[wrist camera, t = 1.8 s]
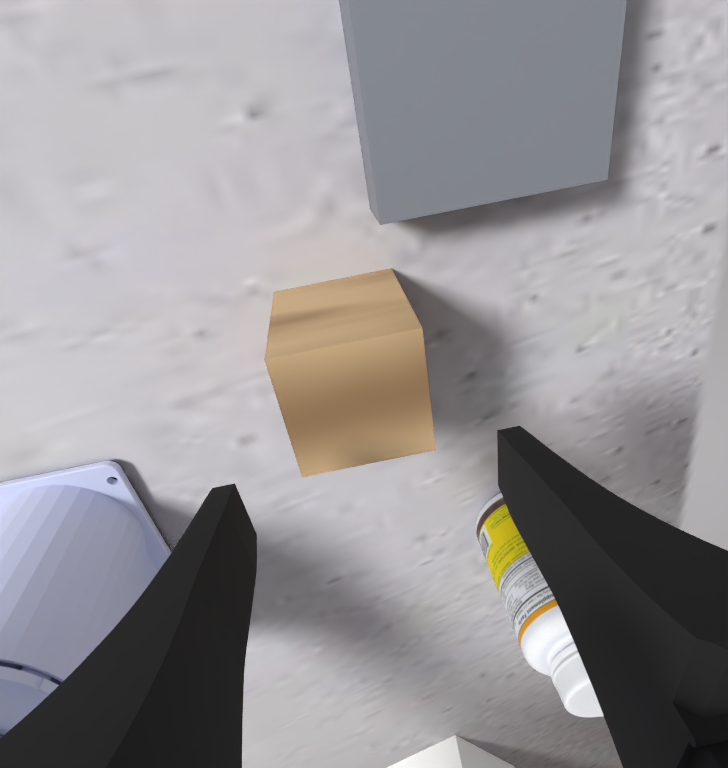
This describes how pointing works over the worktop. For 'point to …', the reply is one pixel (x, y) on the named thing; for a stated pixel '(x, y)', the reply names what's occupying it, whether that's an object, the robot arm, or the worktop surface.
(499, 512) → the supplement bottle
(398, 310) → the oak block
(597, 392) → the worktop surface
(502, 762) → the milk
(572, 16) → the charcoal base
